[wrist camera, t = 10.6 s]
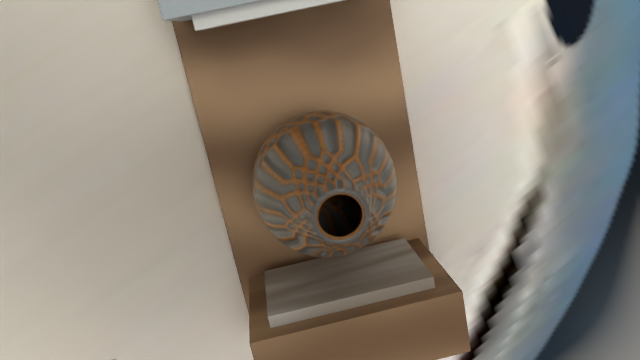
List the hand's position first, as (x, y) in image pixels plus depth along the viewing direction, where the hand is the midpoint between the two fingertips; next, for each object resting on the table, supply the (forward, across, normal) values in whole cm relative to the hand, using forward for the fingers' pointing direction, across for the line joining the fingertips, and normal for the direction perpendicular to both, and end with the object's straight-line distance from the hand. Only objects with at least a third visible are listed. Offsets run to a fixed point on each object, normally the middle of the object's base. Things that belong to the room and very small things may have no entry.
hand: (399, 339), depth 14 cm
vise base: (+20, 0, +1) cm, 20 cm away
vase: (+18, 0, 0) cm, 19 cm away
